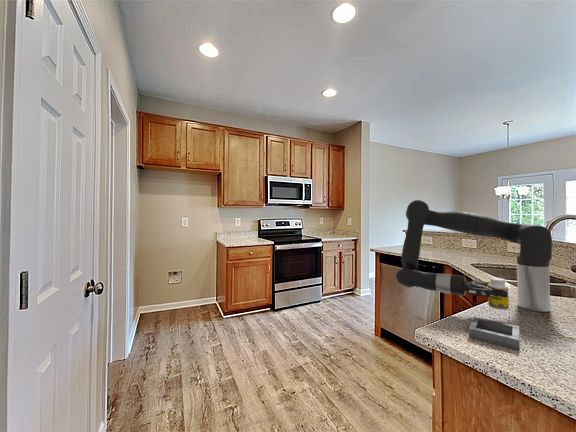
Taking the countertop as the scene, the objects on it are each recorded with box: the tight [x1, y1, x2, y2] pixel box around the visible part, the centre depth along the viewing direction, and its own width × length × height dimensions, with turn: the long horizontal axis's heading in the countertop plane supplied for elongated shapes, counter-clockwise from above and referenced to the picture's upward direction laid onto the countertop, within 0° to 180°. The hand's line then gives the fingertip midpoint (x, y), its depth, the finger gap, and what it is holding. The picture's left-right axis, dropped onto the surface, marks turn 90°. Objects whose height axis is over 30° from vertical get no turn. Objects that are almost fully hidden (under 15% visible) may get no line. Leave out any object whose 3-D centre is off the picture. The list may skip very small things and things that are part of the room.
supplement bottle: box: [487, 277, 510, 311], centre depth 89 cm, size 6×6×10 cm
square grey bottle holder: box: [468, 316, 521, 352], centre depth 78 cm, size 11×11×3 cm
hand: (507, 291), depth 87 cm, fingers closed on supplement bottle, 5 cm apart
